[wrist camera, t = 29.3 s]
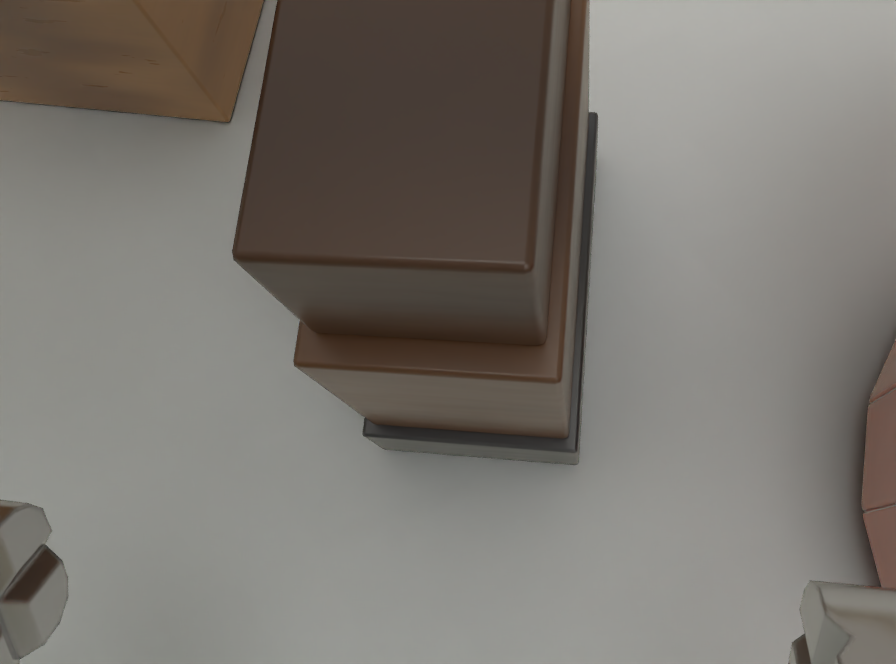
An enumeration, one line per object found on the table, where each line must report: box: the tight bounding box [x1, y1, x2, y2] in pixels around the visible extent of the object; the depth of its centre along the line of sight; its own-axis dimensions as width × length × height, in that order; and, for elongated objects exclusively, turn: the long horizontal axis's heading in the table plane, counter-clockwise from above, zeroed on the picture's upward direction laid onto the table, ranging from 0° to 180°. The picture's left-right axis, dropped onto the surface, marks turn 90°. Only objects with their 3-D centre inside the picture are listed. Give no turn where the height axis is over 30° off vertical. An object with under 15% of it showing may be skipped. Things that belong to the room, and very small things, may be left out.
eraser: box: [232, 0, 598, 465], centre depth 12 cm, size 6×4×8 cm, turn 174°
